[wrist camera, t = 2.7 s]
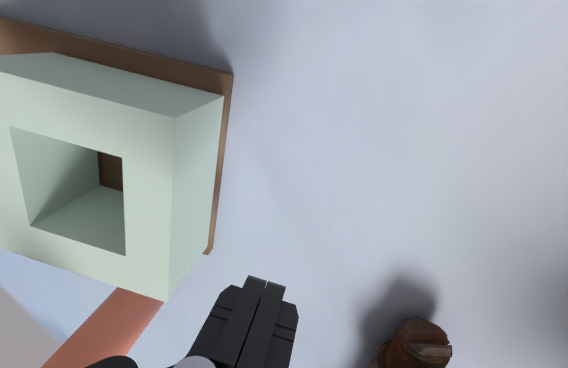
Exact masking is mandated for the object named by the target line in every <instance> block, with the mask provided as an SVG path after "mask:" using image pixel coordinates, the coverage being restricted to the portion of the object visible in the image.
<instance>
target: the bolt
mask: <svg viewBox="0 0 568 368" xmlns="http://www.w3.org/2000/svg"><path fill="white" fill-rule="evenodd" d="M449 343H450V342H449V341H448V339H447V335H446V333H445V332H444V331H443V330H442V329H441V328H440V327H439V326H437V325H435V324H433V323H431V322H428V321H425V320H422V319H415V318H409V319H406V320H404V321H402V322H401V324H400V326H399V327H398V330H397V333H396V335H395V337H394V339H393V341H392V343H384V344H383V345H382V346H381V347H380V349H379V350H378V351H377V353H376V354H375V356H374V357H373V359H372V360H371V362H370V363H369V366H368V368H445V367H446V365H447V364H448V362H449V360H450V358H451V357H452V345H448V344H449Z"/></svg>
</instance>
